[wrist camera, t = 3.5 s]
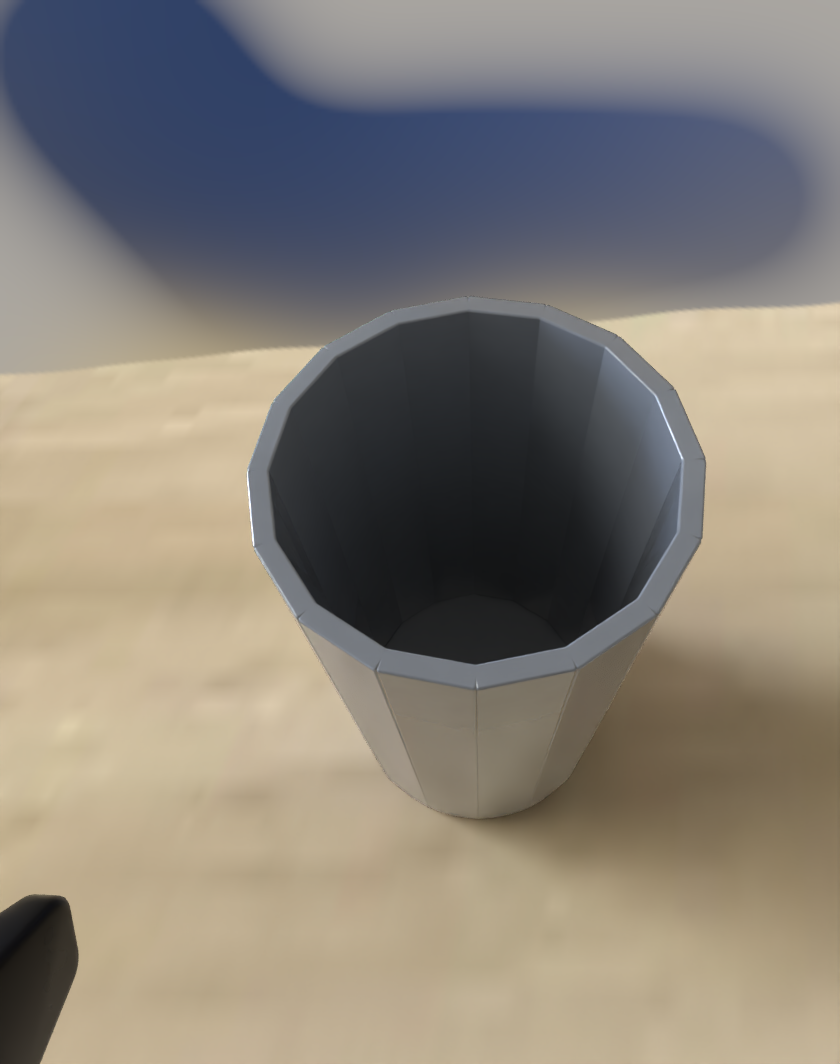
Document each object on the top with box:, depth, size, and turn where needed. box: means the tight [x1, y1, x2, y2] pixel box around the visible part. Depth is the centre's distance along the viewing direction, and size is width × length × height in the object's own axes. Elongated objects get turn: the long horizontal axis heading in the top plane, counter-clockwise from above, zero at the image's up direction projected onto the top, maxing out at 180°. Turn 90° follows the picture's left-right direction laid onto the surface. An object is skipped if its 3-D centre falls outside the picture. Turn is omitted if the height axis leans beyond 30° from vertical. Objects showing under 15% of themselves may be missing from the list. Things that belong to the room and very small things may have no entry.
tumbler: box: [247, 296, 706, 819], centre depth 17 cm, size 7×7×12 cm
